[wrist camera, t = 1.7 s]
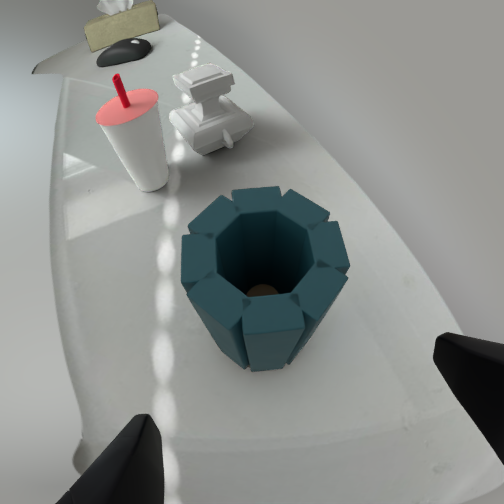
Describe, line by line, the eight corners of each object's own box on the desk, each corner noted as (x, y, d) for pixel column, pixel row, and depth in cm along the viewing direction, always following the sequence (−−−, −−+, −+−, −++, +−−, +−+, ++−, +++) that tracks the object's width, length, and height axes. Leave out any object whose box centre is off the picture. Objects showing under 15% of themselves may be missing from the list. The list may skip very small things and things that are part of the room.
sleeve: (313, 364, 18) (363, 319, 9) (219, 374, 18) (180, 339, 9) (299, 280, 21) (325, 182, 12) (214, 288, 21) (183, 194, 12)
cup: (154, 207, 26) (109, 95, 15) (117, 189, 27) (71, 90, 17) (189, 169, 28) (164, 59, 18) (152, 155, 29) (121, 57, 19)
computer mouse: (106, 57, 49) (101, 42, 45) (154, 46, 48) (151, 31, 45) (91, 71, 45) (86, 56, 42) (143, 60, 45) (139, 43, 41)
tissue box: (90, 53, 53) (75, 3, 39) (93, 44, 57) (80, -1, 43) (161, 29, 56) (152, -23, 42) (157, 23, 60) (149, -24, 47)
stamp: (261, 149, 29) (261, 78, 22) (203, 176, 28) (188, 102, 20) (219, 111, 33) (212, 51, 26) (169, 132, 31) (153, 70, 24)
